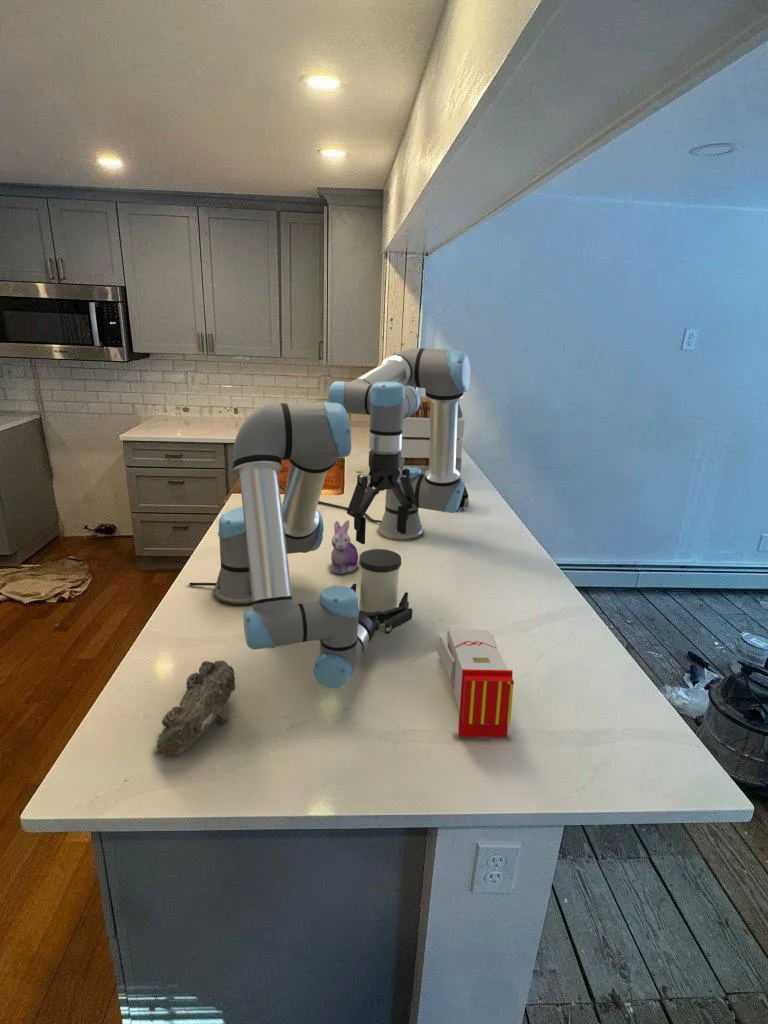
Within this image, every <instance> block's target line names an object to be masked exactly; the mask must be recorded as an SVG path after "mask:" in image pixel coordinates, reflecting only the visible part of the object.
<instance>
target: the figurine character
mask: <svg viewBox="0 0 768 1024" xmlns="http://www.w3.org/2000/svg"><path fill="white" fill-rule="evenodd" d="M469 505H470V500H469V492H468V490H467V488H466V486H465V487H464V492H463V496H462V499H461V502H460V505H459V507H458V509H461V511H462V512H464V511H465V508H469Z"/></svg>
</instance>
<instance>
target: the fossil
mask: <svg viewBox="0 0 768 1024" xmlns="http://www.w3.org/2000/svg"><path fill="white" fill-rule="evenodd" d="M235 674H236V673H235V670H234V668H233V666H232V665H229V664H228V662H227V661H225V660H215V661H214V662H213V661H208V660H203V662H201V664H200V667H199V668H198V672H194V673H191V674H190V675H188V677H187V678H186V687H185V688H186V691H185V692H184V694H182V695H183V696H182V698H181V700H180V702H179V706H173V707H172V708H171V709H170V710H168V711H167V712H166V714H165V715H164V716H163V718H162V720H161V724H162V726H163V727H164V728H163V730H162V732H161V733H160V734H158V736H157V740H156V743H157V744H156V747H157V751H158V752H161V753H163V754H164V755H171V754H177V753H179V754H181V753H183V752H184V751H185V750H186V749H187V748H188V747H189V746H190V745H191V744H192V743H194V742H195V741H196V740H197V738H198V737H200V735H202V734H203V733H204V732H205V731H207V729H208V728H209V726H210V724H211V722H213V721H214V720H215V719H216V718H217V719H218V720H220V722H222V721H224V718H223V717H222V716H221V715H220V714H219V712H220V711H221V710H223V709H224V708H225V707H226V706H227V704H228V702H229V700H230V698H231V696H232V693H233V692H235V691H236V677H235Z"/></svg>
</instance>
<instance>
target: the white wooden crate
mask: <svg viewBox="0 0 768 1024" xmlns="http://www.w3.org/2000/svg"><path fill="white" fill-rule="evenodd" d="M420 400H421V402H420V406H419V409H418V410H417V411H416V412H415V413H414V414H413V415H412V416H410V417H407V418H405V419H403V429H402V449H401V450H400V453H401V466H400V468H401V467H405V466H406V467H417V466H418V467H429V457H430V400H429V399H428V398H427V397H426V396H420ZM464 429H465V419H464V418H463V411H462V408H461V405H460V402H459V401H458V417H457V441H456V465H455V469H456V470H458V471H459V473H460V475H461V472H462V461H463V460H462V453H463V442H464V441H463V440H462V439H463V438H464V431H465V430H464Z"/></svg>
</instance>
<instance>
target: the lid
mask: <svg viewBox="0 0 768 1024" xmlns="http://www.w3.org/2000/svg"><path fill="white" fill-rule="evenodd" d="M358 564H359V566H360V568H361V567H362V568H364V569H366V570H368V571H372V572H381V573H384V572H391V571H395V570H397V569H398V568H399V569H400V568H401V566H402V556H401V555H400V554H399V553H398V552H396V551H393V550H390V549H385V548H384V549H383V548H374V549H373V548H372V549H368V550H365V551H363V552H361V553H360V555H359V556H358Z"/></svg>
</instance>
